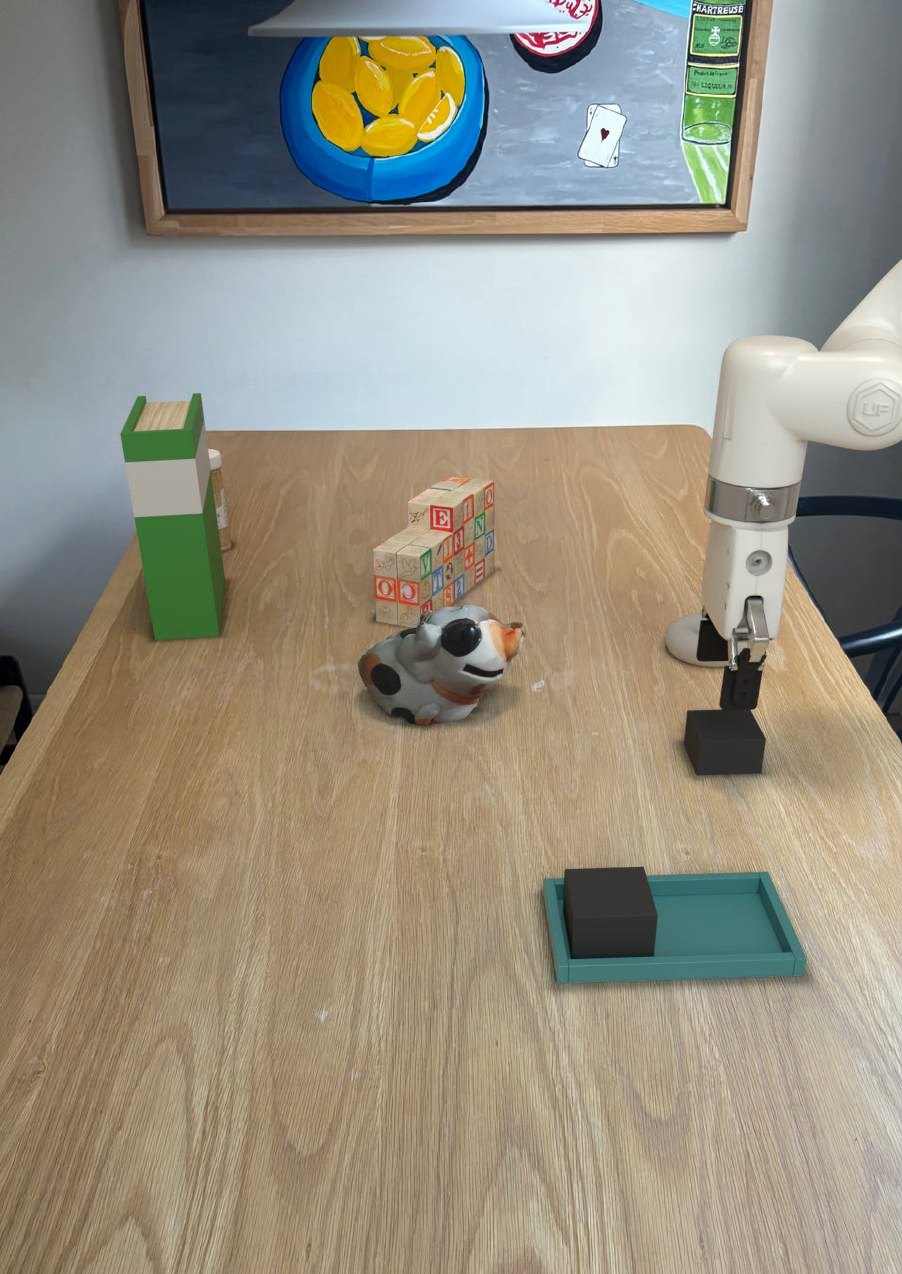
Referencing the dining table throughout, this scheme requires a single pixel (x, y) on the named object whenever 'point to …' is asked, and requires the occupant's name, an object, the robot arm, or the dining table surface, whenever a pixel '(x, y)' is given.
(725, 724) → the black square block
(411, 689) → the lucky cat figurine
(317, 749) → the dining table surface
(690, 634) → the donut
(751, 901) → the tray
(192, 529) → the hardback book
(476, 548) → the stack of blocks
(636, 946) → the seated pad
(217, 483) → the sprinkles bottle
